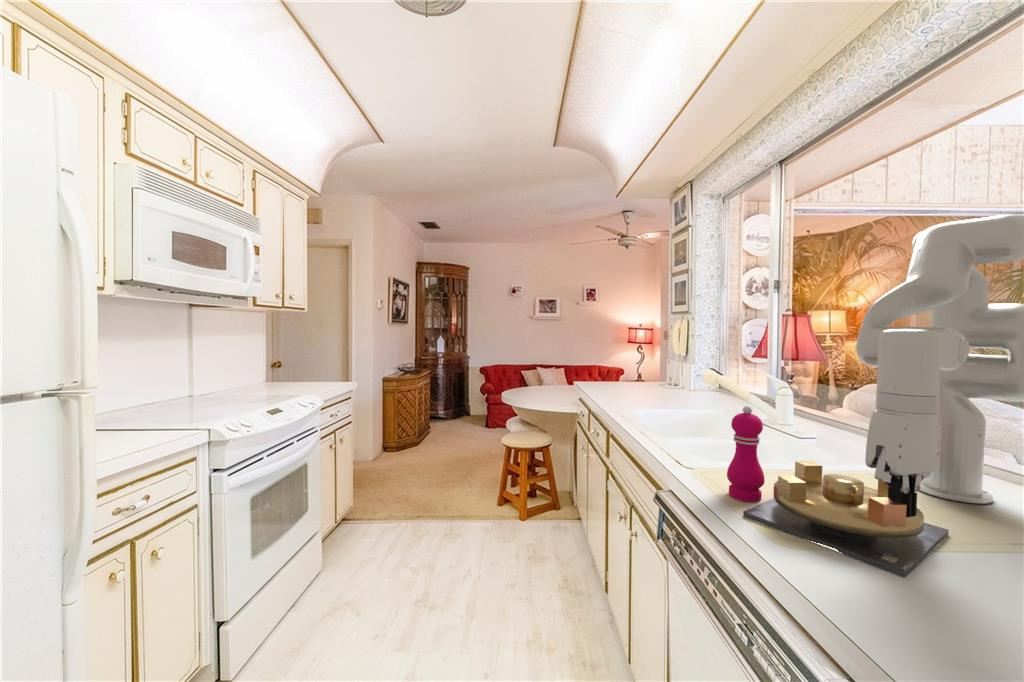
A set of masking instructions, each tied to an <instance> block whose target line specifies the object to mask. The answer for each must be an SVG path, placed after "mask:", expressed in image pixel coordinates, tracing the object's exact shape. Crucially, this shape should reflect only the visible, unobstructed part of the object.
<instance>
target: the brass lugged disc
mask: <svg viewBox="0 0 1024 682" xmlns="http://www.w3.org/2000/svg"><path fill="white" fill-rule="evenodd" d="M772 497H773V498H774V499H775V501H776V502H777V503H778V504H779V505H780V506H781V507H783V508H784V509H786V510H787V511H789V512H791V513H793V514H795V515H797V516H799V517H801V518H804V519H806V520H809V521H811V522H814V523H817V524H820V525H823V526H826V527H829V528H833V529H837V530H841V531H845V532H849V533H854V534H860V535H865V536H872V537H882V538H908V537H913V536H917V535H919V534H921V533H922V532H923V529H924V523H925V514H923V511H921V509H919V508H918V507H917V510H916V516H914V517H906V507H907V505H906V504H903V503H899V502H896V501H894V500H891V499H890V497H888V487H886V484H885V482H884V481H881V480H878V479H877V489H875V488H873V487H869V486H866V485H865V483H864V482H863V481H862V480H860V479H858V478H855V477H851V476H848V475H842V474H837V473H836V474H832V473H829V474H824V475H823V465H822V464H819V463H818V462H815V461H813V460H795V463H794V475H777V481H776V482H775V483H774V484H773V496H772Z"/></svg>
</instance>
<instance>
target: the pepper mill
mask: <svg viewBox="0 0 1024 682" xmlns="http://www.w3.org/2000/svg"><path fill="white" fill-rule="evenodd" d="M752 412H753V409H752V407H750V406H748V405H745V406H744V407H743V408H742V412H741V413H738V414H735V415H734V416H733V417H732V419H731V426H730V427H731V429H732V430H733V431H734V433H733V441H734V442H735V452H734V455H733V458H732V460H731V462H730V463H729V465H728V468H727V469H726V470H727V472H726V478H727V480H728V481H729V483H731V484H730V485H728V495H729V497H731V498H733V499H735V500H737V501H741V502H745V503H746V502H747V503H758V502H760V501H762V495H763V493H762V490H761V488H762V487H763V486H764V485H765V474H764V471H763V469H762V466H761V464H760V461H759V458H758V452H757V451H758V445H760V444H761V443H760V439H761V438H760V436H759V435H761V433H762V432H763V429H764V426H763V424H764V423H763V421H762V419H761V418H760V417H759V416H758V415H755V414H754V413H752Z"/></svg>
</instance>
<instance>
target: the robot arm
mask: <svg viewBox="0 0 1024 682" xmlns="http://www.w3.org/2000/svg"><path fill="white" fill-rule="evenodd" d="M911 246H912V247H911V248H912V250H913V252H912V256H911V260H910V263H909V267H908V271H907V273H906V278H905V282H903V283H901V284H900V285H897V286H896V287H894V288H893V289H891V290H889V291H888V292H886V293H885V294H883V295H882V296H881V297H880V298H878V299H877V300H876V301H874V302H873V304H871V305H870V307H868V309H867V310H866V313H865V314H864V315H863V316H864V317H863V319H862V323H861V326H860V328H859V329H860V330H859V332H858V335H857V340H856V344H855V345H856V346H855V347H856V350H855V351H856V354H857V357H858V359H859V360H860V362H862V363H863V364H864V365H866V366H869V367H872V368H877V371H876V375H877V376H876V390H875V391H876V394H875V409H874V410H873V412H872V415H871V417H870V421H869V425H868V431H867V437H866V444H865V457H864V458H865V460H864V461H865V465H866V467H868V468H870V469H875V472H874V476H873V477H874V479H876V480H877V481H878V480H881V481H884V482H885V484H886V487H888V497H890V499H891V500H894V501H896V502H899V503H903V504H906V505H907V507H906V517H914V516H916V510H917V508H918V507H917V504H918V493H919V492H920V491H921V492H923V493H925V494H928V495H930V496H934V497H937V498H941V499H945V500H950V501H951V500H952V501H956V502H959V503H967V504H979V505H980V504H989V503H992V502H993V494H992V493H990V492H988V491H987V490H984V489H983V484H984V483H983V479H984V459H985V445H986V444H985V443H986V425H987V424H986V423H987V421H986V417H985V415H984V414H983V413H982V411H981V410H980V409H979V408H978V407H977V406H976V405H975V404H974V403H973V402H972V401H971V400H970V399H982V400H991V401H993V400H994V401H1002V402H1003V401H1004V402H1014V403H1015V402H1016V403H1022V402H1023V403H1024V303H990V301H989V295H988V294H989V281H988V278H987V277H986V275H984V273H983V272H981V271H980V270H979V269H978V268H977V267H975V265H983V264H997V263H1007V262H1012V263H1013V262H1020V261H1023V260H1024V215H1016V214H1003V215H995V216H987V217H981V218H971V219H964V220H958V221H957V220H956V221H950V222H945V223H944V222H943V223H940V224H937V225H933V226H931V227H928V228H926V229H925V230H923V231H920V232H918V233H917V234H916V235H915V236H914V237H913V239H912V245H911ZM928 311H931V320H930V321H931V326H929V327H928V326H920V327H918V326H890V325H892V324H894V323H895V322H897V321H899V320H901V319H904V318H906V317H909V316H913V315H916V314H921V313H923V312H924V313H925V312H928ZM970 349H988V350H989V349H992V350H993V349H994V350H1002V351H1004V352H1006V353H1007V354H1008V355H1000V354H980V353H970Z"/></svg>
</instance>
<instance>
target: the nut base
mask: <svg viewBox="0 0 1024 682" xmlns="http://www.w3.org/2000/svg"><path fill="white" fill-rule="evenodd" d="M742 513H743V517H744V518H746V519H749V520H751V519H752V520H751V521H754V520H755V521H754V522H757V521H758V522H757V523H759V522H760V523H759V524H762V523H763V524H762V525H764V526H767V525H768V526H767V527H770V528H772V527H773V529H775V530H778V531H780V530H781V531H780V532H783V531H784V533H785V534H788V533H789V534H788V535H790V536H793V535H794V536H793V537H796V536H797V537H796V538H799V537H800V538H799V539H801V538H803V539H802V540H804V539H806V540H805V541H807V540H809V541H813V542H816V543H820V544H823V545H826V546H829V547H832V548H835V549H837V550H838V551H839V552H841V553H843V554H845V555H844V556H846V555H848V556H847V557H849V556H850V557H849V558H851V557H853V558H852V559H854V558H855V559H854V560H856V559H857V560H856V561H859V560H860V561H859V562H862V563H865V564H867V565H870V566H873V567H874V568H878V569H880V570H882V571H885V572H889V573H891V574H893V575H896V576H899V577H901V578H904V579H905V578H907V577H908V576H909V575H910V574H911V573H912V572H913V571H914V570H916V568H917V567H918V566H919V565H920V564H921V563H922V562H923V561H925V559H926V558H927V557H928V556H929V555H930V554H931V553H932V552H933V551H934V550H935V549H936V548H937V547H938V546H939V545H940V544H941V543H942V542H943V541H944V540H945V539H946V538H947V537H948V536H949V529H947V528H945V527H944V528H943V527H940V526H938V525H933V524H930V523H926V522H924V529H923V532H922V533H921V534H919V535H917V536H913V537H908V538H882V537H872V536H865V535H860V534H854V533H849V532H845V531H841V530H837V529H833V528H829V527H826V526H823V525H820V524H817V523H814V522H811V521H809V520H806V519H804V518H801V517H799V516H797V515H795V514H793V513H791V512H789V511H787V510H786V509H784V508H783V507H781V506H780V505H779V504H778V503H777V502H776V501H775V499H774V497H773V498H771V499H768V500H766V501H764V502H762V503H759V504H757V505H754V506H753V507H750V508H748V509H746V510H744V511H743V512H742ZM944 538H945V539H944ZM943 539H944V540H943ZM942 540H943V541H942ZM809 541H808V542H809ZM941 541H942V542H941ZM940 542H941V543H940ZM939 543H940V544H939ZM938 544H939V545H938ZM937 545H938V546H937ZM936 546H937V547H936ZM935 547H936V548H935ZM934 548H935V549H934ZM933 549H934V550H933ZM932 550H933V551H932ZM931 551H932V552H931ZM930 552H931V553H930ZM841 553H840V554H841ZM929 553H930V554H929ZM843 554H842V555H843ZM928 554H929V555H928ZM927 555H928V556H927Z"/></svg>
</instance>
